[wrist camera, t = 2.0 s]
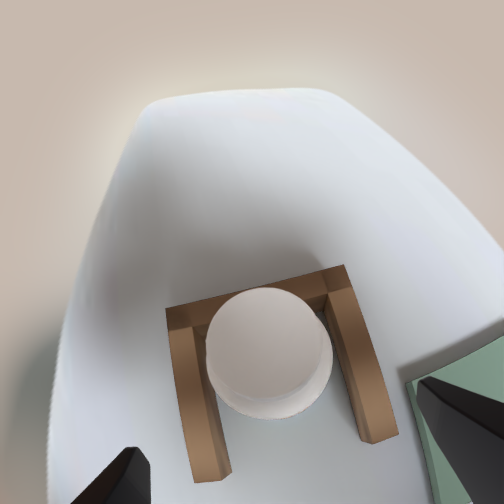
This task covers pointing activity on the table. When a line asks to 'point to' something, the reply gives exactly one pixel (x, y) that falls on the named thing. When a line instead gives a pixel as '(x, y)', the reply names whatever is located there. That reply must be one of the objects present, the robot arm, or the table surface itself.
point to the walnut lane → (346, 344)
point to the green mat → (471, 378)
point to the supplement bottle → (268, 354)
